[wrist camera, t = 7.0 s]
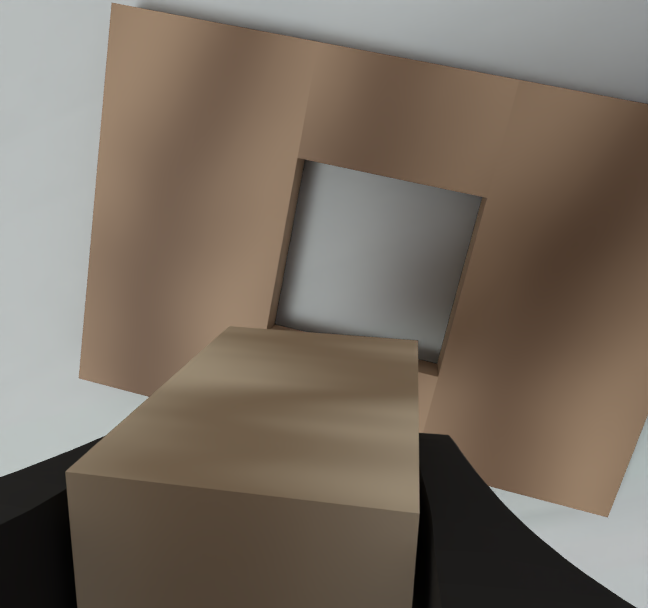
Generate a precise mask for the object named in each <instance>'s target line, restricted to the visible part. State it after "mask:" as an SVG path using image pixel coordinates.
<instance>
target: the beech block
mask: <svg viewBox="0 0 648 608" xmlns="http://www.w3.org/2000/svg"><path fill="white" fill-rule="evenodd" d="M65 475H66V486H67V497H68V508H69V520H70V531H71V542H72V553H73V564H74V575H75V587H76V598H77V608H412V599H413V587H414V575H415V563H416V550H417V538H418V526H419V514H420V509H419V406H418V341H417V340H404V339H391V338H378V337H365V336H351V335H338V334H325V333H312V332H299V331H286V330H272V329H259V328H246V327H233V326H229V327H228V328H227V329H225V330H224V331H223V332H222V333H221V334H220V335H219V336H218V337H216V338H215V339H214V340H213V341H212V342H211V343H210V344H209V345H207V346H206V347H205V348H204V349H203V350H202V351H201V352H200V353H198V354H197V355H196V356H195V357H194V358H193V359H192V360H191V361H189V362H188V363H187V364H186V365H185V366H184V367H183V368H181V369H180V370H179V371H178V372H177V373H176V374H175V375H174V376H172V377H171V378H170V379H169V380H168V381H167V382H166V383H165V384H163V385H162V386H161V387H160V388H159V389H158V390H157V391H156V392H154V393H153V394H152V395H151V396H150V397H149V398H148V399H147V400H145V401H144V402H143V403H142V404H141V405H140V406H139V407H138V408H136V409H135V410H134V411H133V412H132V413H131V414H130V415H129V416H127V417H126V418H125V419H124V420H123V421H122V422H121V423H120V424H118V425H117V426H116V427H115V428H114V429H113V430H112V431H110V432H109V433H108V434H107V435H106V436H105V437H104V438H103V439H101V440H100V441H99V442H98V443H97V444H96V445H95V446H94V447H92V448H91V449H90V450H89V451H88V452H87V453H86V454H85V455H83V456H82V457H81V458H80V459H79V460H78V461H77V462H76V463H74V464H73V465H72V466H71V467H70V468H69V469H68V470H67V471H65Z"/></svg>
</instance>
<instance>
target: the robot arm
mask: <svg viewBox="0 0 648 608" xmlns="http://www.w3.org/2000/svg"><path fill="white" fill-rule="evenodd" d="M104 437H105V436H104ZM104 437H101V438H99V439H97V440H94V441H92V442H90V443H87V444H85V445H82V446H80V447H78V448H75V449H73V450H71V451H68V452H65V453H63V454H60V455H58V456H55V457H53V458H50V459H47V460H45V461H42V462H40V463H37V464H35V465H32V466H29V467H27V468H24V469H22V470H19V471H17V472H14V473H11V474H8V475H5V476H2V477H0V608H77V598H76V587H75V575H74V564H73V553H72V542H71V531H70V520H69V508H68V497H67V486H66V475H65V471H67V470H68V469H69V468H70V467H71V466H72V465H73V464H74V463H76V462H77V461H78V460H79V459H80V458H81V457H82V456H83V455H85V454H86V453H87V452H88V451H89V450H90V449H91V448H92V447H94V446H95V445H96V444H97V443H98V442H99V441H100V440H101V439H103V438H104ZM419 509H420V514H419V526H418V538H417V550H416V563H415V575H414V587H413V599H412V608H636V607H635V606H633V605H631V604H630V603H628V602H627V601H625V600H623V599H622V598H620V597H619V596H617V595H616V594H614V593H613V592H611V591H610V590H609V589H607V588H606V587H604V586H603V585H601V584H600V583H598V582H597V581H595V580H594V579H592V578H591V577H589V576H588V575H586V574H585V573H584V572H582V571H581V570H580V569H578V568H577V567H575V566H574V565H573V564H571V563H570V562H569V561H567V560H566V559H565V558H564V557H562V556H561V555H560V554H559V553H558V552H556V551H555V550H554V549H553V548H551V547H550V546H549V545H548V544H547V543H545V542H544V541H543V540H542V539H541V538H539V537H538V536H537V535H536V534H535V533H534V532H532V531H531V530H530V529H529V528H528V527H527V526H526V525H525V524H524V523H523V522H521V521H520V520H519V519H518V518H517V517H516V516H515V515H514V514H513V513H512V512H511V511H510V510H509V509H508V508H507V507H506V506H505V505H504V503H503V502H502V501H501V500H500V499H499V498H498V497H497V496H496V494H495V493H494V492H493V491H492V490H491V489H490V487H489V486H488V485H487V484H486V483H485V482H484V480H483V479H482V478H481V477H480V476H479V474H478V473H477V472H476V471H475V469H474V468H473V467H472V465H471V464H470V463H469V461H468V460H467V459H466V457H465V456H464V455H463V453H462V452H461V450H460V449H459V447H458V446H457V445H456V443H455V442H454V440H453V439H452V438H451V437H450V436H449V435H444V434H430V433H419Z"/></svg>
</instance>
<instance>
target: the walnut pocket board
mask: <svg viewBox="0 0 648 608" xmlns="http://www.w3.org/2000/svg"><path fill="white" fill-rule="evenodd" d="M305 160H310V161H315V162H319V163H324V164H329V165H334V166H338V167H343V168H348V169H353V170H357V171H362V172H367V173H372V174H376V175H381V176H386V177H390V178H395V179H400V180H405V181H409V182H414V183H419V184H424V185H428V186H433V187H438V188H442V189H447V190H452V191H457V192H461V193H466V194H471V195H476V196H480V197H482V200H481V204H480V208H479V211H478V215H477V219H476V222H475V226H474V230H473V233H472V237H471V241H470V244H469V248H468V252H467V255H466V259H465V263H464V267H463V270H462V274H461V278H460V281H459V285H458V289H457V292H456V296H455V300H454V303H453V307H452V311H451V314H450V318H449V322H448V325H447V329H446V333H445V336H444V340H443V344H442V348H441V351H440V355H439V359H438V362H437V364H436V363H432V362H428V361H423V360H419V359H418V406H419V433H430V434H444V435H449V436H450V437H451V438H452V439H453V440H454V442H455V443H456V445H457V446H458V447H459V449H460V450H461V452H462V453H463V455H464V456H465V457H466V459H467V460H468V461H469V463H470V464H471V465H472V467H473V468H474V469H475V471H476V472H477V473H478V474H479V476H480V477H481V478H482V479H483V480H484V482H485V483H486V484H487V485H488V486H491V487H494V488H498V489H502V490H506V491H510V492H513V493H517V494H521V495H525V496H529V497H532V498H536V499H540V500H544V501H548V502H551V503H555V504H559V505H563V506H567V507H570V508H574V509H578V510H582V511H586V512H590V513H593V514H597V515H601V516H605V517H608V515H609V513H610V510H611V508H612V505H613V502H614V500H615V497H616V495H617V492H618V490H619V487H620V485H621V482H622V479H623V477H624V474H625V472H626V469H627V467H628V464H629V461H630V459H631V456H632V454H633V451H634V449H635V446H636V444H637V441H638V438H639V436H640V433H641V431H642V428H643V426H644V423H645V420H646V418H647V415H648V104H644V103H639V102H634V101H628V100H623V99H618V98H613V97H607V96H602V95H597V94H591V93H586V92H581V91H576V90H570V89H565V88H560V87H554V86H549V85H544V84H539V83H533V82H528V81H523V80H517V79H512V78H507V77H502V76H496V75H491V74H486V73H480V72H475V71H470V70H465V69H459V68H454V67H449V66H443V65H438V64H433V63H428V62H422V61H417V60H412V59H406V58H401V57H396V56H391V55H385V54H380V53H375V52H369V51H364V50H359V49H354V48H348V47H343V46H338V45H332V44H327V43H322V42H317V41H311V40H306V39H301V38H295V37H290V36H285V35H280V34H274V33H269V32H264V31H259V30H253V29H248V28H243V27H237V26H232V25H227V24H222V23H216V22H211V21H206V20H200V19H195V18H190V17H185V16H179V15H174V14H169V13H163V12H158V11H153V10H148V9H142V8H137V7H132V6H126V5H121V4H116V3H112V5H111V17H110V28H109V40H108V51H107V62H106V74H105V85H104V97H103V108H102V119H101V131H100V142H99V154H98V165H97V176H96V188H95V199H94V211H93V222H92V234H91V245H90V256H89V268H88V279H87V291H86V302H85V313H84V325H83V336H82V348H81V359H80V370H79V378H80V379H84V380H87V381H91V382H95V383H99V384H103V385H106V386H110V387H114V388H118V389H122V390H126V391H129V392H133V393H137V394H141V395H145V396H148V397H150V396H151V395H152V394H153V393H154V392H156V391H157V390H158V389H159V388H160V387H161V386H162V385H163V384H165V383H166V382H167V381H168V380H169V379H170V378H171V377H172V376H174V375H175V374H176V373H177V372H178V371H179V370H180V369H181V368H183V367H184V366H185V365H186V364H187V363H188V362H189V361H191V360H192V359H193V358H194V357H195V356H196V355H197V354H198V353H200V352H201V351H202V350H203V349H204V348H205V347H206V346H207V345H209V344H210V343H211V342H212V341H213V340H214V339H215V338H216V337H218V336H219V335H220V334H221V333H222V332H223V331H224V330H225V329H227V328H228V327H229V326H233V327H246V328H259V329H272V330H286V331H299V332H304V331H300V330H296V329H292V328H288V327H284V326H280V325H276V324H275V319H276V314H277V308H278V303H279V297H280V292H281V287H282V281H283V276H284V270H285V265H286V259H287V254H288V249H289V243H290V238H291V232H292V227H293V221H294V216H295V211H296V205H297V200H298V194H299V189H300V183H301V178H302V173H303V167H304V162H305Z"/></svg>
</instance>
